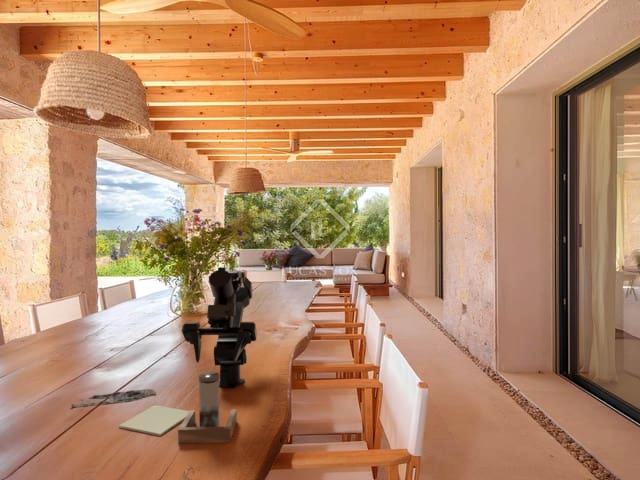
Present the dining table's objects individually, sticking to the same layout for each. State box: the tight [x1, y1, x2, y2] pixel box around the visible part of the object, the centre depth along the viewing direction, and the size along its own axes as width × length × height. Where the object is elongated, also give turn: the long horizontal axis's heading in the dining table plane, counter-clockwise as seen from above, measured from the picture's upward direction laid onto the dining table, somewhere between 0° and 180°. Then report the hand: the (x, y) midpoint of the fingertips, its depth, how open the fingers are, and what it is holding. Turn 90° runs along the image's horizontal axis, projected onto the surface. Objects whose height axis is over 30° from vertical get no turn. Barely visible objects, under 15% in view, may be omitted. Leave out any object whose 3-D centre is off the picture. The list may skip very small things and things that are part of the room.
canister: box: [198, 371, 221, 427], centre depth 100 cm, size 5×5×13 cm
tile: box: [118, 404, 190, 437], centre depth 105 cm, size 12×12×1 cm
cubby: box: [177, 408, 238, 444], centre depth 99 cm, size 10×11×3 cm
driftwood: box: [70, 388, 157, 408], centre depth 118 cm, size 21×7×2 cm, turn 106°
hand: (215, 361), depth 107 cm, fingers open, 9 cm apart
